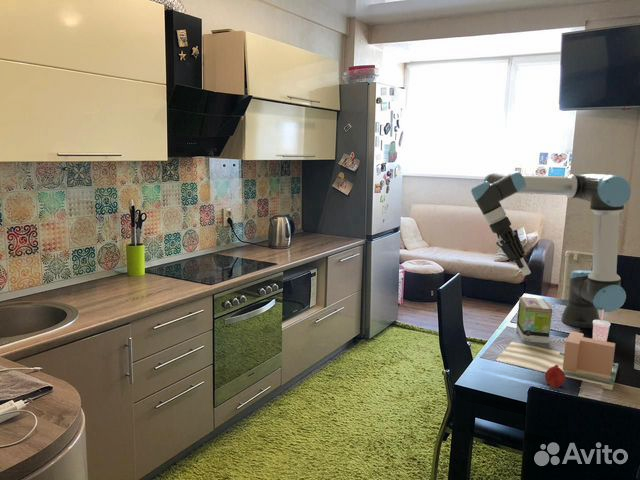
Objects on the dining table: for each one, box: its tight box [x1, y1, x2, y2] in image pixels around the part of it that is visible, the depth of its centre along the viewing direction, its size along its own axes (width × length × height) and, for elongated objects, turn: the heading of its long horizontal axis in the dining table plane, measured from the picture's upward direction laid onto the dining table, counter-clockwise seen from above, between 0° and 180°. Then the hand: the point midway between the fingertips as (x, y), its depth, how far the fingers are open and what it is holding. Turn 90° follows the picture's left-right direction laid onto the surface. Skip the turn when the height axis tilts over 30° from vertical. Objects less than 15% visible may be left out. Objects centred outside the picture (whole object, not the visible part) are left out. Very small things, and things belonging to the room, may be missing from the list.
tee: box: [563, 330, 616, 376], centre depth 179 cm, size 12×14×10 cm
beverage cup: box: [592, 309, 611, 342], centre depth 204 cm, size 6×6×14 cm
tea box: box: [516, 296, 553, 344], centre depth 210 cm, size 15×10×15 cm
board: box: [495, 341, 619, 391], centre depth 185 cm, size 22×36×2 cm, turn 57°
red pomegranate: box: [544, 365, 566, 390], centre depth 166 cm, size 6×6×8 cm
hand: (527, 274), depth 204 cm, fingers closed
